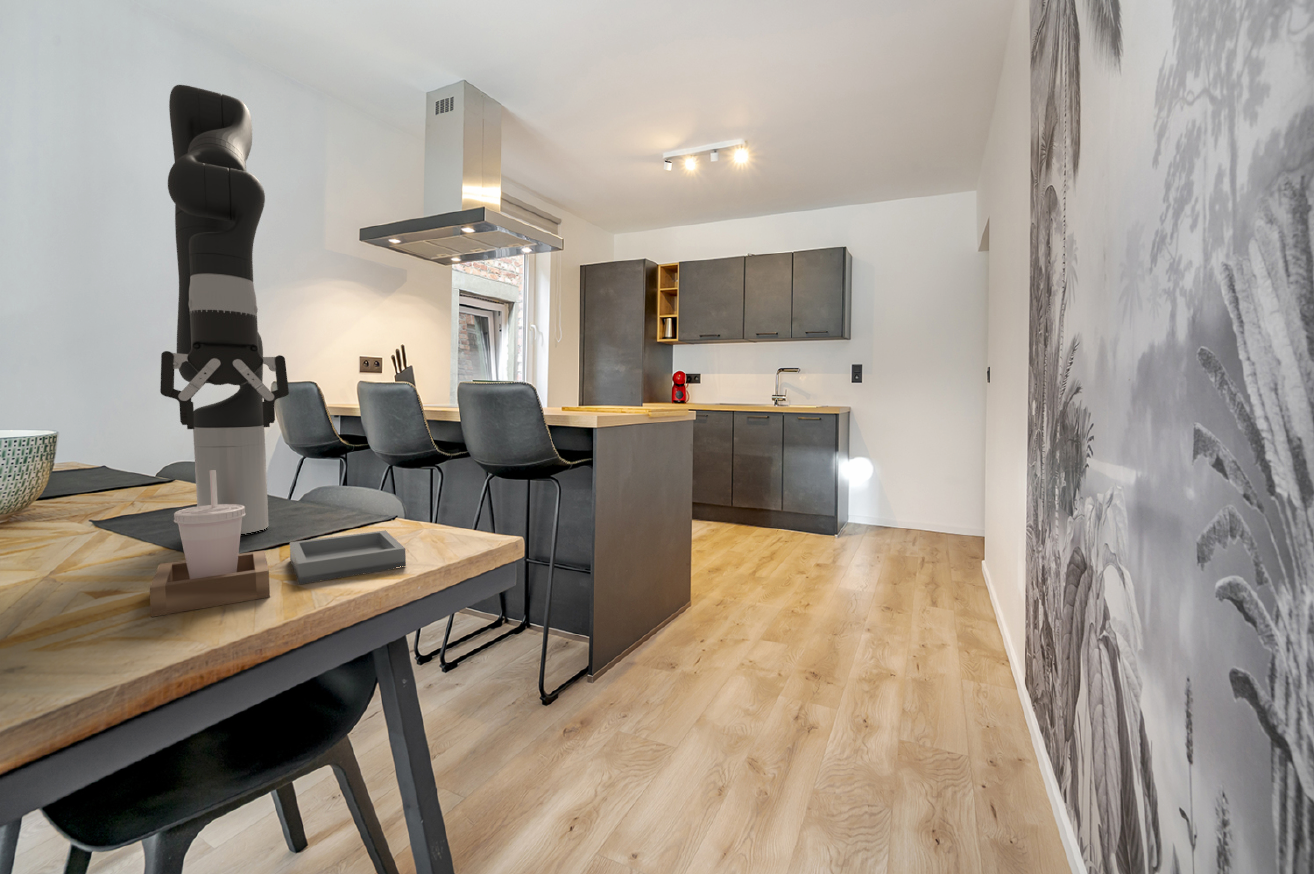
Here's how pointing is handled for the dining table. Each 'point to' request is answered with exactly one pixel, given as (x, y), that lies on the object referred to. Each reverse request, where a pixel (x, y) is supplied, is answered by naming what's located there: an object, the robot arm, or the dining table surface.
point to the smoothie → (211, 535)
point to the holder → (208, 585)
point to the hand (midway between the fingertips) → (229, 428)
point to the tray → (345, 556)
